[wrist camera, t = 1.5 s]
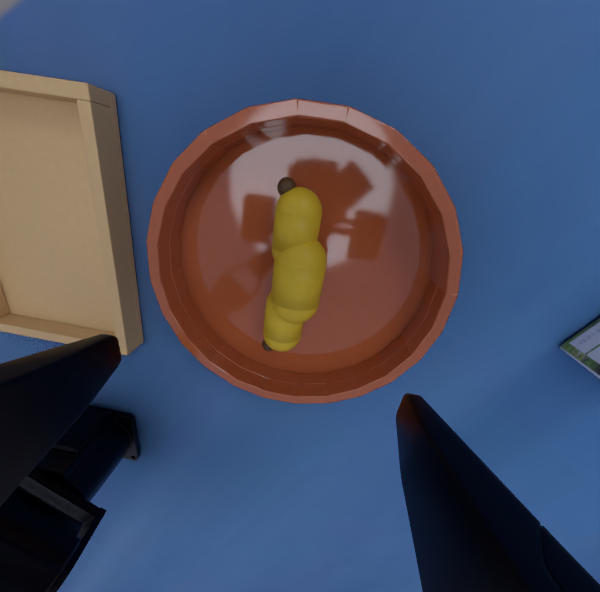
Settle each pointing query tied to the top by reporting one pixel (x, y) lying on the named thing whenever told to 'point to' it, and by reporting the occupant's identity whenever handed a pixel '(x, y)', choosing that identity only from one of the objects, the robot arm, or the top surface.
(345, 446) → the top surface
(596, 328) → the syrup box
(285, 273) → the banana
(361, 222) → the bowl
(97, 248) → the tray
